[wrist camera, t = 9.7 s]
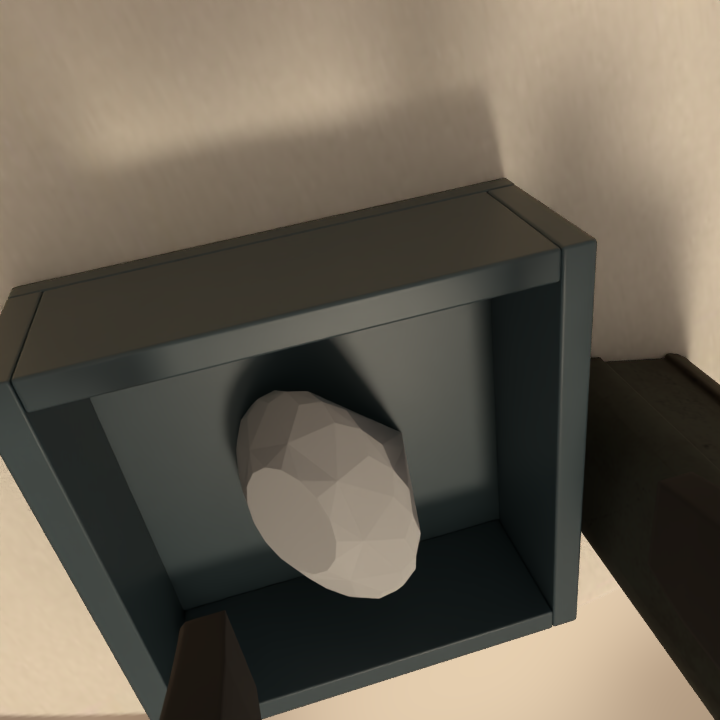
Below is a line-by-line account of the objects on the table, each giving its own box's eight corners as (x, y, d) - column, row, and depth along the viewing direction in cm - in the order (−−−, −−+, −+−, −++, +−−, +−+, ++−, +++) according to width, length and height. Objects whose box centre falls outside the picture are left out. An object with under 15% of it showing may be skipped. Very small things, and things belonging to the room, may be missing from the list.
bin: (505, 177, 18) (598, 238, 14) (513, 516, 25) (577, 620, 21) (11, 287, 16) (-37, 391, 12) (166, 617, 23) (166, 750, 19)
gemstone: (495, 548, 20) (400, 665, 16) (334, 489, 24) (227, 574, 20) (491, 356, 17) (378, 445, 14) (312, 323, 21) (186, 387, 18)
